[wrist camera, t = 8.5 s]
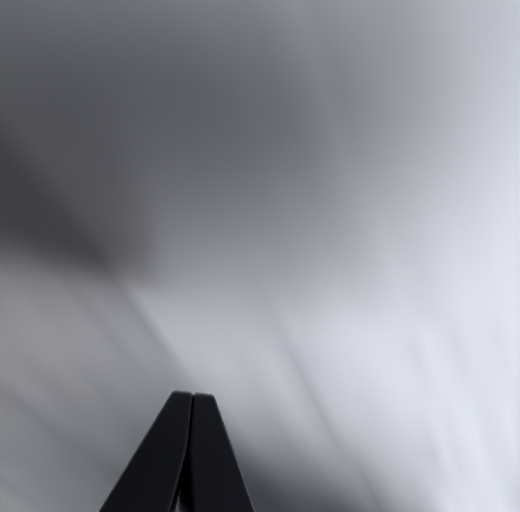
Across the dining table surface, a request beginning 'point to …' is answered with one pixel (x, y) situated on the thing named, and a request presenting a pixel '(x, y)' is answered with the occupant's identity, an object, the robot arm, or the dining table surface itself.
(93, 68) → the dining table surface
